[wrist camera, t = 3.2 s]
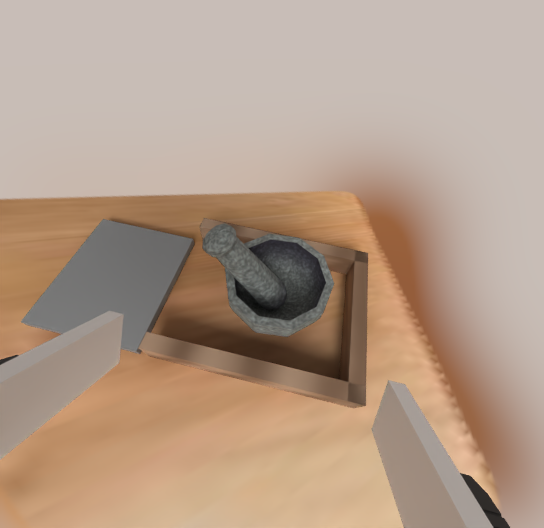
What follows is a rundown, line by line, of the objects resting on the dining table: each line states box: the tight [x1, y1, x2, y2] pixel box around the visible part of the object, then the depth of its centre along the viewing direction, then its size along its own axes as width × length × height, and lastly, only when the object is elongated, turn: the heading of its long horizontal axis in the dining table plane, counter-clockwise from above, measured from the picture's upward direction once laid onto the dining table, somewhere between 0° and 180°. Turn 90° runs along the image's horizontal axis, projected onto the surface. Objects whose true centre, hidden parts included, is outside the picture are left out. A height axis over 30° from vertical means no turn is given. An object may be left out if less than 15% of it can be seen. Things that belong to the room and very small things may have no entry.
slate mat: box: [21, 219, 195, 354], centre depth 29 cm, size 12×14×1 cm
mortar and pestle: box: [203, 223, 334, 337], centre depth 24 cm, size 11×9×12 cm
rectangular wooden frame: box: [138, 218, 368, 408], centre depth 27 cm, size 20×16×3 cm
